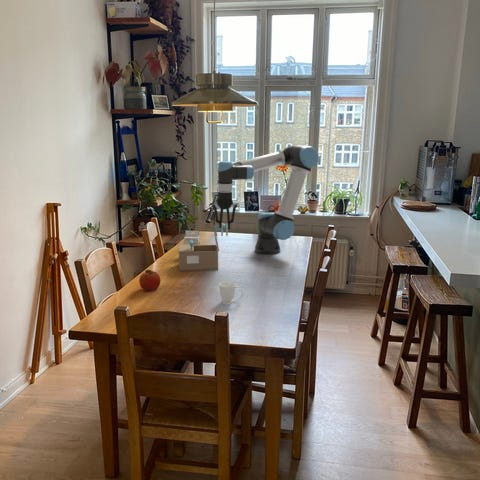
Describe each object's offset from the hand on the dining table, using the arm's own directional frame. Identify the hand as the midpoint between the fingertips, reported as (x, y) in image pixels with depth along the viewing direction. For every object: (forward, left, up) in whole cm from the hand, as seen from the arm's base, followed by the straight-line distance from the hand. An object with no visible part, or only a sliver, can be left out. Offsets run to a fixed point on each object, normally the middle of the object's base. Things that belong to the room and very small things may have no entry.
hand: (224, 235), depth 249 cm
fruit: (+37, +36, -16) cm, 54 cm away
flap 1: (+20, +4, -6) cm, 21 cm away
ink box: (+17, -17, -16) cm, 29 cm away
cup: (+2, +56, -16) cm, 58 cm away
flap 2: (+5, +3, -1) cm, 6 cm away
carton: (+14, +3, -16) cm, 22 cm away
